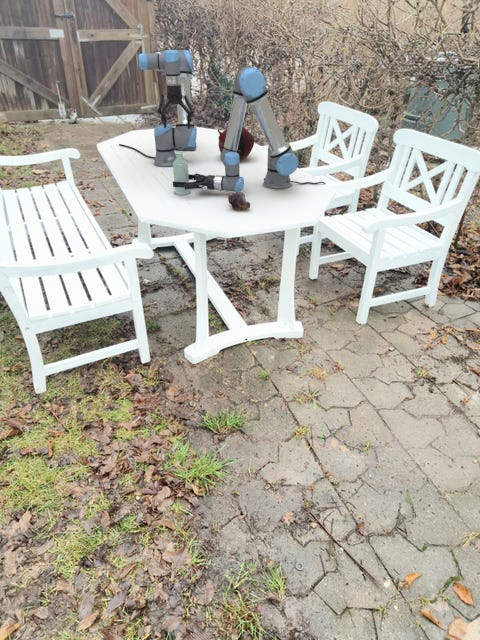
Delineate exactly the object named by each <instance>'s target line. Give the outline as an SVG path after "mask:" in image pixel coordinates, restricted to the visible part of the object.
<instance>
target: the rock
mask: <svg viewBox="0 0 480 640" xmlns="http://www.w3.org/2000/svg"><path fill="white" fill-rule="evenodd" d="M227 201H228V204H229V205H230V206H231V208H232V209H234V210H236V211H238V210H247V209H250V208H251V203H250V202H249V201H247V199H246V195H245V192H242V191H235V192H233V193H232V194H228V196H227Z"/></svg>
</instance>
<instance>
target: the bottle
mask: <svg viewBox="0 0 480 640" xmlns="http://www.w3.org/2000/svg"><path fill="white" fill-rule="evenodd" d="M175 154H176V160H175V161H174V162H173V166H172V171H173V172H172V173H173V181H174V182H186V183H188V182H190V180H189V175H188V174H189V165H188V162H187V161H186V159H185V158H184V156H183V155H184V153H183V151H177V152H175ZM190 190H191V189H185V188H182V187H174V193H175V195H178V196H187V195H189V194H190V192H191V191H190Z"/></svg>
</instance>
